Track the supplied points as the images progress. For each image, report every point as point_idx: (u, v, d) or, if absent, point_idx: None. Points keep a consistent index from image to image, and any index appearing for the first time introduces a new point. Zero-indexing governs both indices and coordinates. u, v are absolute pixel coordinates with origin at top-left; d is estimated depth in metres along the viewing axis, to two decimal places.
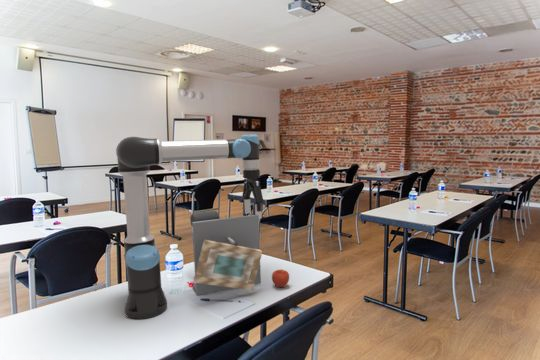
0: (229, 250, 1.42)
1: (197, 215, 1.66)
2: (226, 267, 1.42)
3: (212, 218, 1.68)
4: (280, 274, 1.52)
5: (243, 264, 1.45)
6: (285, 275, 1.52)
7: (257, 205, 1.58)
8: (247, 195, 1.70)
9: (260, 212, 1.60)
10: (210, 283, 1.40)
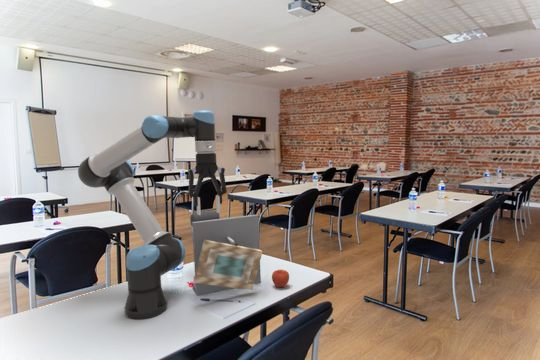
0: (229, 250, 1.42)
1: (197, 215, 1.66)
2: (226, 267, 1.42)
3: (212, 218, 1.68)
4: (280, 274, 1.52)
5: (243, 264, 1.45)
6: (285, 275, 1.52)
7: None
8: (215, 188, 1.39)
9: (198, 208, 1.36)
10: (210, 283, 1.40)
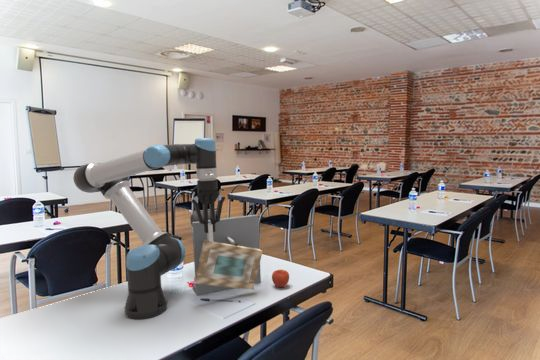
0: (229, 250, 1.42)
1: None
2: (226, 267, 1.42)
3: None
4: (280, 274, 1.52)
5: (243, 264, 1.45)
6: (285, 275, 1.52)
7: None
8: (210, 215, 1.39)
9: (208, 234, 1.38)
10: (211, 283, 1.40)
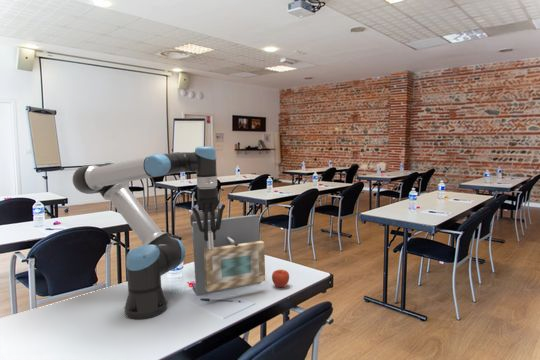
0: (231, 252, 1.42)
1: None
2: (233, 268, 1.43)
3: None
4: (280, 274, 1.52)
5: (249, 260, 1.46)
6: (285, 275, 1.52)
7: None
8: (211, 223, 1.39)
9: (208, 242, 1.39)
10: (222, 287, 1.42)
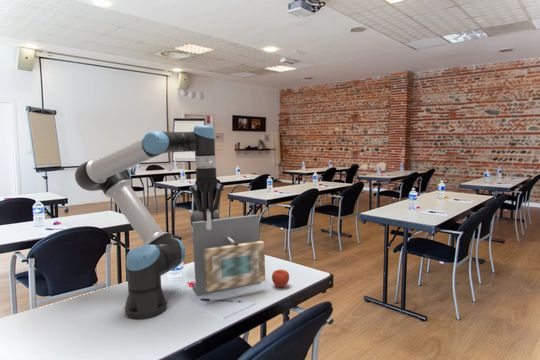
0: (231, 252, 1.42)
1: (197, 215, 1.66)
2: (233, 268, 1.43)
3: None
4: (280, 274, 1.52)
5: (249, 260, 1.46)
6: (285, 275, 1.52)
7: None
8: (209, 204, 1.39)
9: (207, 222, 1.38)
10: (222, 287, 1.42)
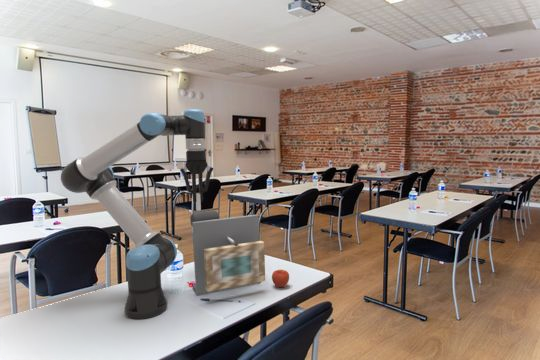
0: (231, 252, 1.42)
1: (197, 215, 1.66)
2: (233, 268, 1.43)
3: (212, 218, 1.68)
4: (280, 274, 1.52)
5: (249, 260, 1.46)
6: (285, 275, 1.52)
7: None
8: (199, 185, 1.44)
9: (196, 203, 1.43)
10: (222, 287, 1.42)
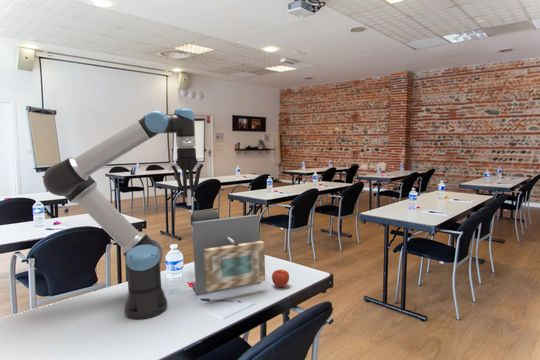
0: (231, 252, 1.42)
1: (197, 215, 1.66)
2: (233, 268, 1.43)
3: (212, 218, 1.68)
4: (280, 274, 1.52)
5: (249, 260, 1.46)
6: (285, 275, 1.52)
7: None
8: (189, 181, 1.50)
9: (187, 199, 1.49)
10: (222, 287, 1.42)
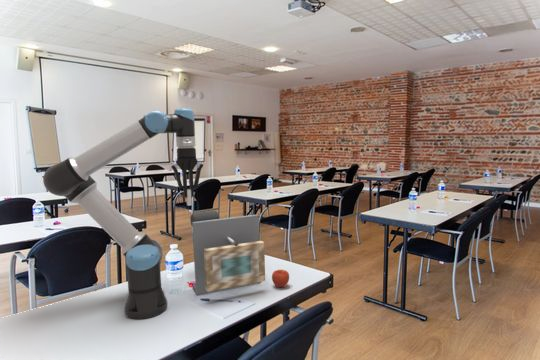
0: (231, 252, 1.42)
1: (197, 215, 1.66)
2: (233, 268, 1.43)
3: (212, 218, 1.68)
4: (280, 274, 1.52)
5: (249, 260, 1.46)
6: (285, 275, 1.52)
7: None
8: (189, 181, 1.50)
9: (187, 199, 1.49)
10: (222, 287, 1.42)
